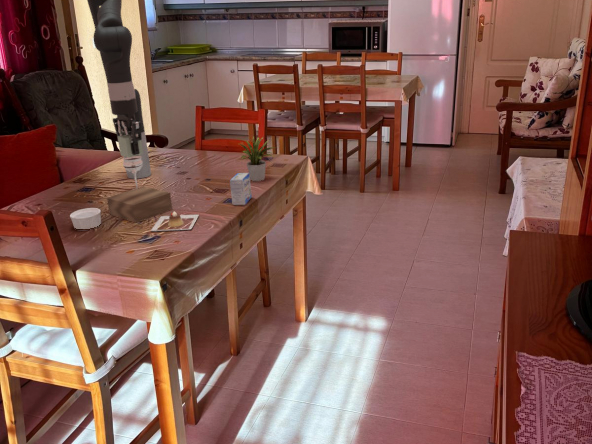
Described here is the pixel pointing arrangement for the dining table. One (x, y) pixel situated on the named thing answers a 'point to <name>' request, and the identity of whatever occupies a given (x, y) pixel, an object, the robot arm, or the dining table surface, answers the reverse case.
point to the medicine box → (240, 189)
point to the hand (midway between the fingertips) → (131, 152)
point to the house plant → (256, 160)
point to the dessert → (174, 221)
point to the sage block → (127, 146)
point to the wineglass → (133, 165)
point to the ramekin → (86, 218)
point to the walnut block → (139, 204)
